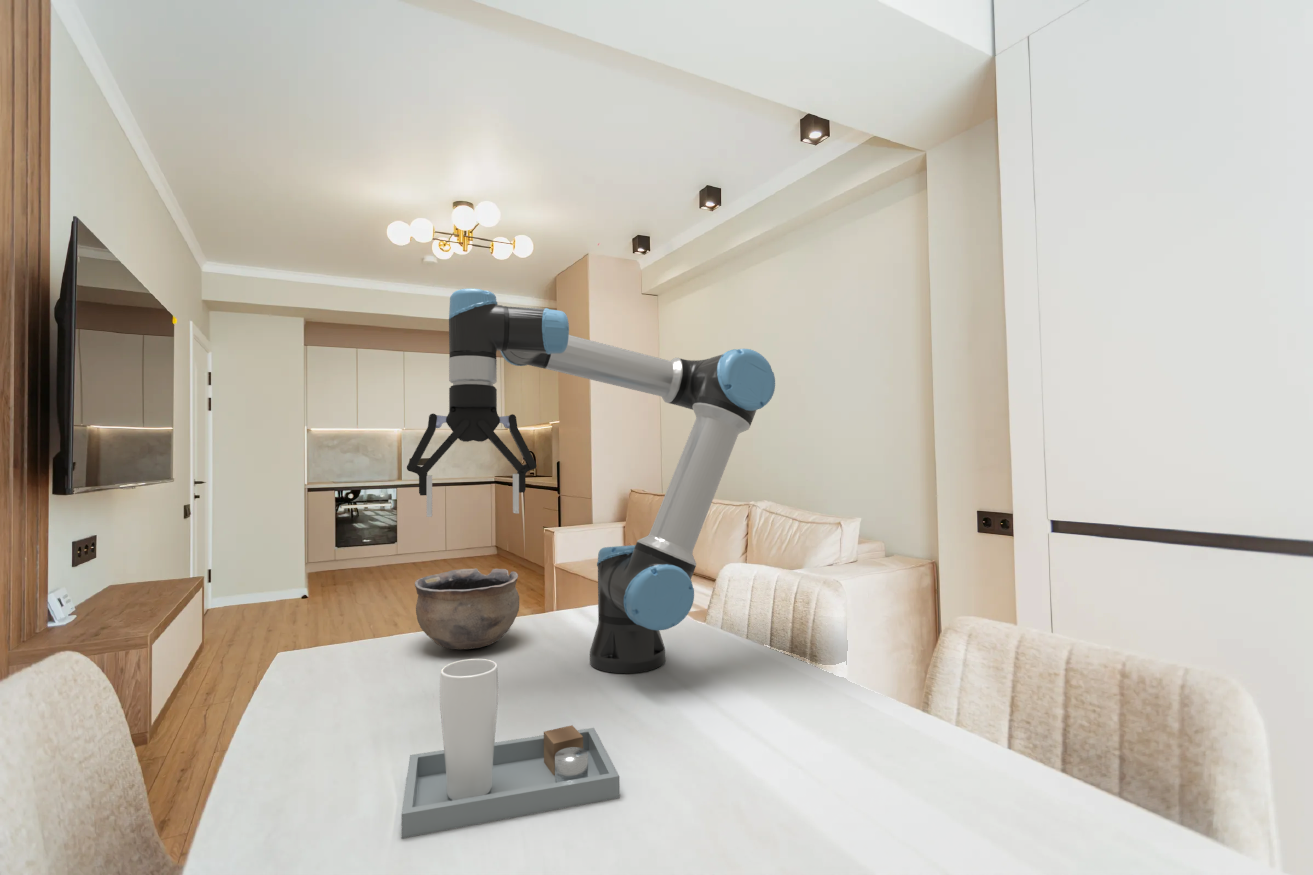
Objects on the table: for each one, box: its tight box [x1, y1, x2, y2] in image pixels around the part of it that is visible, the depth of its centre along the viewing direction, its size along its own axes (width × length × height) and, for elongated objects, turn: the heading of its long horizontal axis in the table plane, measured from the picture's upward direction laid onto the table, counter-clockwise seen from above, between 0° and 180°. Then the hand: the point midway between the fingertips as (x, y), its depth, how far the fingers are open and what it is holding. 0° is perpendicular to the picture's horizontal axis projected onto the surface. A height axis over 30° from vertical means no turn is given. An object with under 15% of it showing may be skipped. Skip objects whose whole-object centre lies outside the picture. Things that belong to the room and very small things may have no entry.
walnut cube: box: [543, 724, 583, 775], centre depth 82 cm, size 4×4×4 cm
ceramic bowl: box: [414, 568, 520, 650], centre depth 137 cm, size 22×22×15 cm
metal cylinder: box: [555, 747, 588, 783], centre depth 77 cm, size 4×4×4 cm
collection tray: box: [401, 727, 621, 839], centre depth 77 cm, size 24×14×3 cm, turn 108°
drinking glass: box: [439, 658, 499, 800], centre depth 76 cm, size 7×7×15 cm
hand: (473, 514), depth 103 cm, fingers open, 13 cm apart
